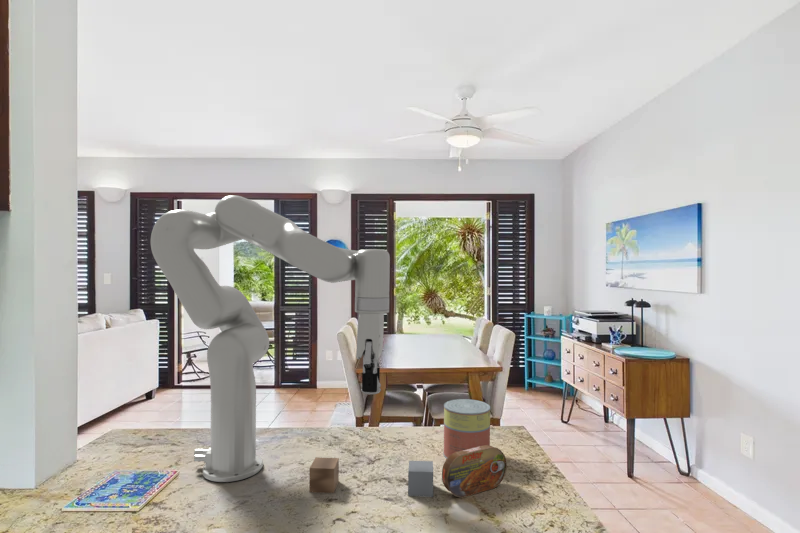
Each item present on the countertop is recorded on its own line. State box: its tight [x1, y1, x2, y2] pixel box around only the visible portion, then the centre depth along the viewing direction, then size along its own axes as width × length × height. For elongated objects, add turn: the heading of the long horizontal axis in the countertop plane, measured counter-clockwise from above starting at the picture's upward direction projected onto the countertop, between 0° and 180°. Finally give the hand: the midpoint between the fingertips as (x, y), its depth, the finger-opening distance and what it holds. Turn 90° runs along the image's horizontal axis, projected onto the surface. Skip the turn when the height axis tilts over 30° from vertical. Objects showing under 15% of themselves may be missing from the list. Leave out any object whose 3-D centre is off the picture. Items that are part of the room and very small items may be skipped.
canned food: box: [442, 398, 491, 459], centre depth 109 cm, size 11×11×12 cm
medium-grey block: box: [407, 460, 434, 498], centre depth 92 cm, size 5×5×5 cm
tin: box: [441, 445, 508, 499], centre depth 92 cm, size 15×3×8 cm, turn 118°
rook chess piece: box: [360, 356, 382, 395], centre depth 98 cm, size 4×4×8 cm
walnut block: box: [308, 457, 340, 494], centre depth 93 cm, size 5×5×5 cm
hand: (370, 387), depth 98 cm, fingers closed on rook chess piece, 4 cm apart
